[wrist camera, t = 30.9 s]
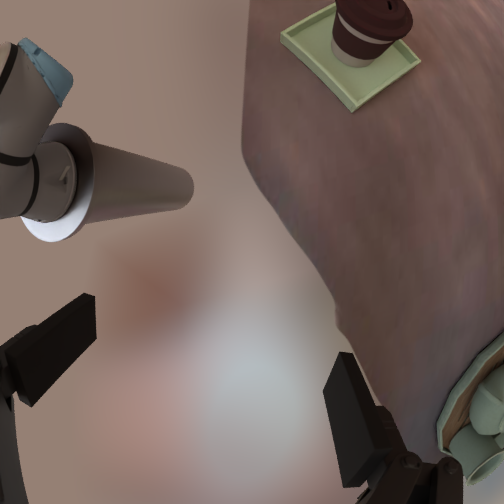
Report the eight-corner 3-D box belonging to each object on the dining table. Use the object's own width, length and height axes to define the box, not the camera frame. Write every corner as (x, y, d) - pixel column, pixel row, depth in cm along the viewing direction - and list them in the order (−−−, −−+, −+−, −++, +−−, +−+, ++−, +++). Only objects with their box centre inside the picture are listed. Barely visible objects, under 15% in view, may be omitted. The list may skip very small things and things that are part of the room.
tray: (280, 41, 37) (280, 32, 34) (348, 3, 34) (351, -6, 31) (351, 113, 38) (357, 107, 35) (413, 67, 36) (421, 61, 32)
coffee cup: (309, 49, 36) (323, -6, 21) (342, 18, 34) (363, -36, 20) (361, 87, 37) (397, 44, 22) (391, 53, 35) (428, 9, 20)
